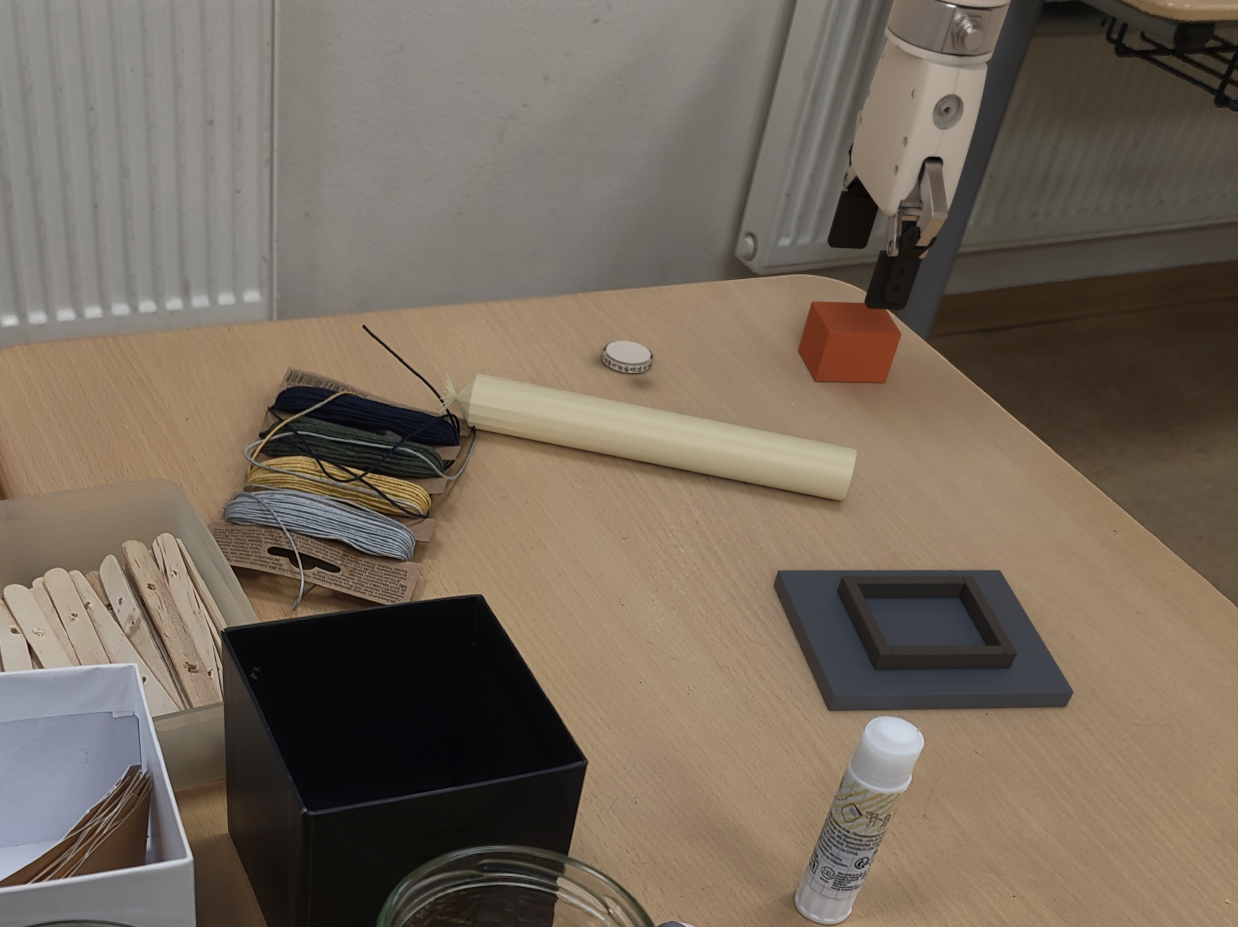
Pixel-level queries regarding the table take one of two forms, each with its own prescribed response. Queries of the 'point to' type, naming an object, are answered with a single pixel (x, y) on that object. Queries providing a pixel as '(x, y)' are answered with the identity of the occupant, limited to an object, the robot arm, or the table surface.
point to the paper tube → (655, 436)
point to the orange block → (848, 342)
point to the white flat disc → (627, 356)
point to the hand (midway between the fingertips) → (864, 276)
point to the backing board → (919, 640)
